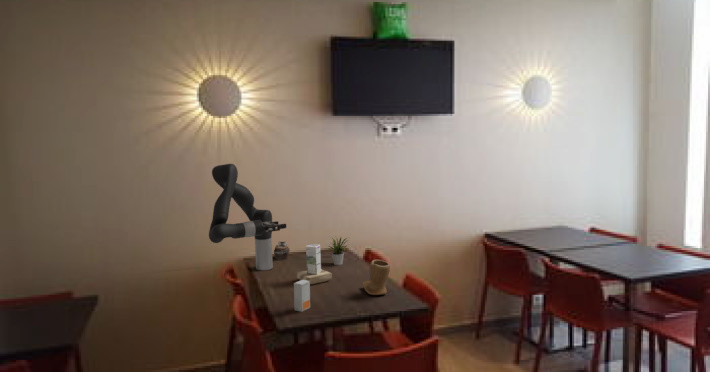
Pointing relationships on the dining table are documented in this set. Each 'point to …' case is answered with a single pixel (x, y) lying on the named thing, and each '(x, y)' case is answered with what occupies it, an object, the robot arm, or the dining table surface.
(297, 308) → the skincare box
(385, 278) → the stone cup
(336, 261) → the house plant
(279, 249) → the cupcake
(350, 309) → the dining table surface
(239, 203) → the robot arm
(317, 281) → the wood stand
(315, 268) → the syrup box
